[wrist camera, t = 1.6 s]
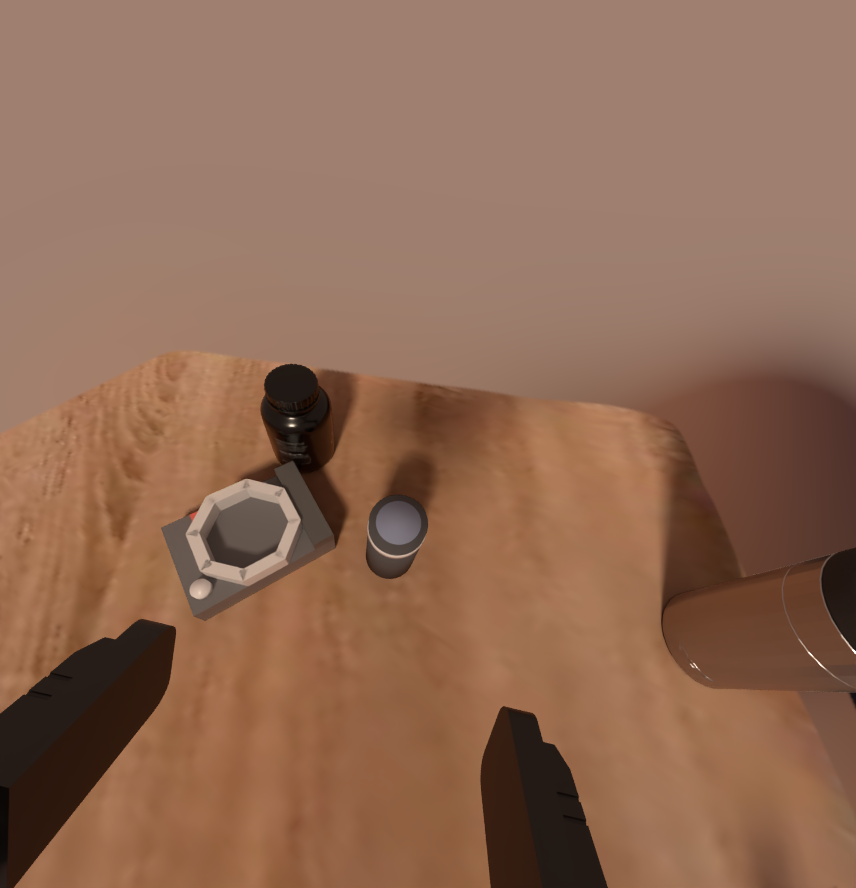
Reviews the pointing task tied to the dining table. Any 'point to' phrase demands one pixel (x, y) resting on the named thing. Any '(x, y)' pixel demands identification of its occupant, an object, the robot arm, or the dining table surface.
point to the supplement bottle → (298, 417)
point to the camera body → (246, 540)
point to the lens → (395, 535)
